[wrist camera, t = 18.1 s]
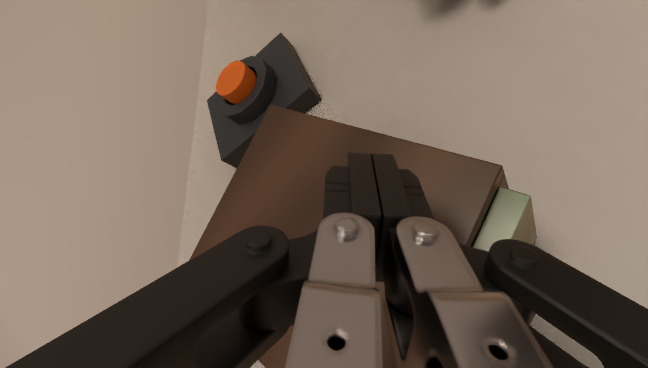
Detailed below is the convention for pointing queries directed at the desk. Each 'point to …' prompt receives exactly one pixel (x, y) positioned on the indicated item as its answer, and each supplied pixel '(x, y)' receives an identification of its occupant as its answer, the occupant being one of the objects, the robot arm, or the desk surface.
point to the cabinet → (309, 185)
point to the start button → (236, 82)
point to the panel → (261, 98)
